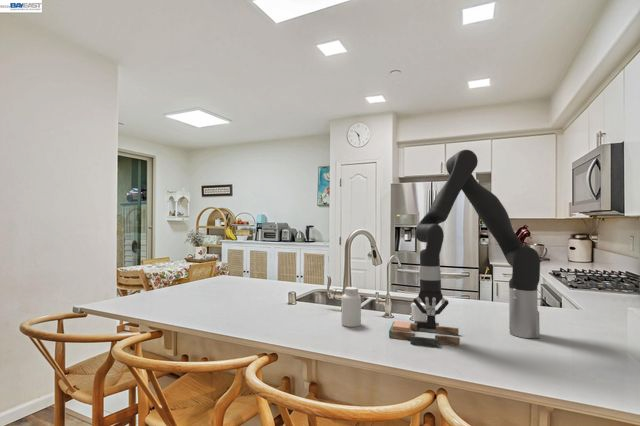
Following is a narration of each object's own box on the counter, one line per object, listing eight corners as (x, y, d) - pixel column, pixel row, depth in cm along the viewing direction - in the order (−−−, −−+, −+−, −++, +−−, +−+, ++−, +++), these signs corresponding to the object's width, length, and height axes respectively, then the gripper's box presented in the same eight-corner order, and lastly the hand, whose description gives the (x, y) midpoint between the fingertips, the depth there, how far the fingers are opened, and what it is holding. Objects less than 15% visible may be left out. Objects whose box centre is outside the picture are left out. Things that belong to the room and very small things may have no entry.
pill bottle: (364, 324, 142) (364, 287, 142) (353, 328, 136) (352, 290, 136) (349, 320, 147) (349, 285, 147) (337, 324, 141) (337, 288, 142)
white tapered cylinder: (428, 322, 144) (428, 306, 144) (411, 321, 145) (411, 305, 145) (427, 318, 150) (426, 302, 151) (410, 317, 152) (410, 301, 152)
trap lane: (458, 331, 133) (457, 324, 133) (460, 350, 114) (460, 342, 114) (394, 324, 141) (394, 318, 141) (387, 341, 122) (387, 334, 122)
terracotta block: (411, 333, 132) (411, 322, 132) (409, 338, 125) (409, 327, 125) (395, 331, 134) (395, 320, 134) (392, 337, 127) (392, 326, 127)
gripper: (449, 276, 128) (450, 323, 128) (412, 275, 132) (413, 320, 132) (449, 280, 121) (450, 329, 121) (410, 278, 125) (411, 326, 125)
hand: (431, 325), depth 126 cm, fingers closed
